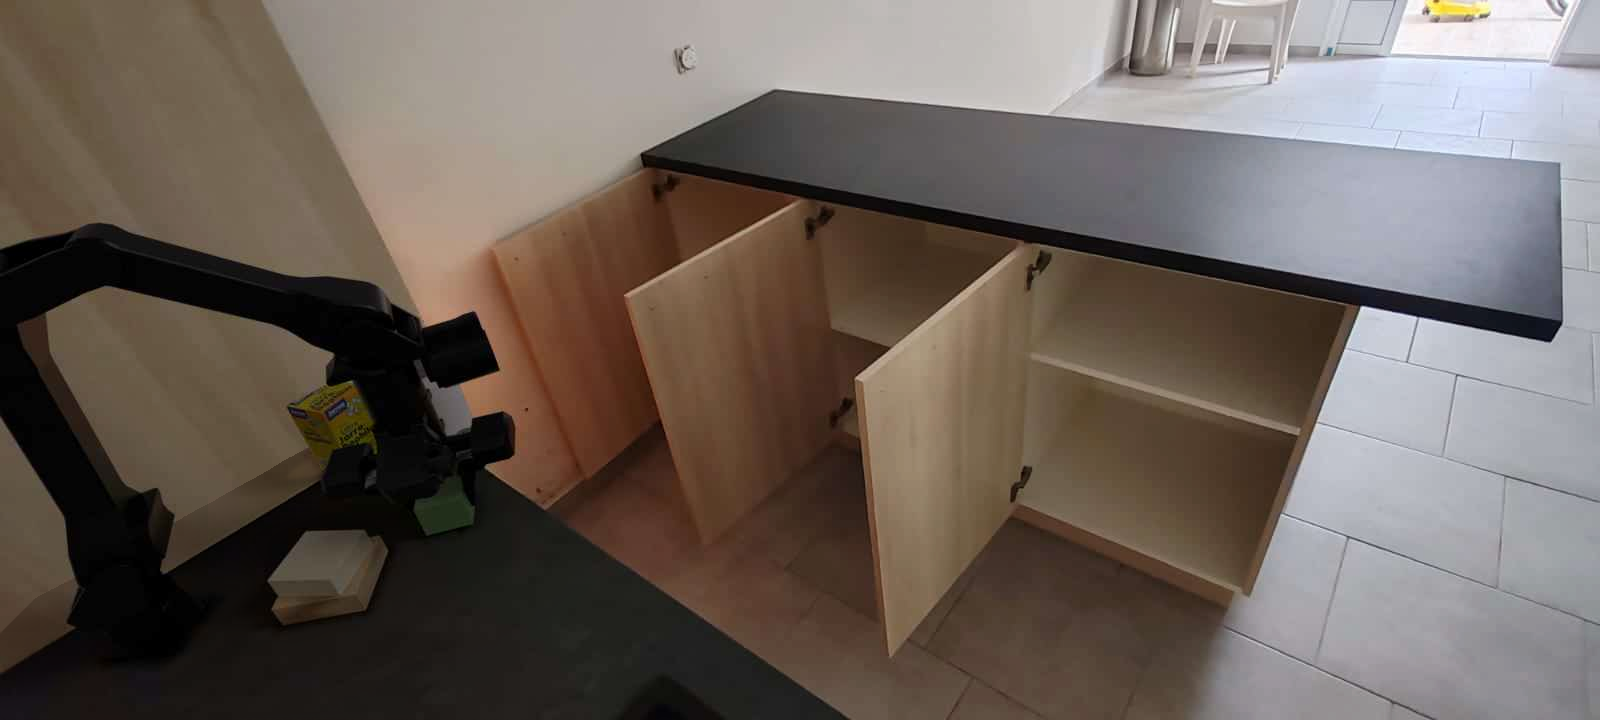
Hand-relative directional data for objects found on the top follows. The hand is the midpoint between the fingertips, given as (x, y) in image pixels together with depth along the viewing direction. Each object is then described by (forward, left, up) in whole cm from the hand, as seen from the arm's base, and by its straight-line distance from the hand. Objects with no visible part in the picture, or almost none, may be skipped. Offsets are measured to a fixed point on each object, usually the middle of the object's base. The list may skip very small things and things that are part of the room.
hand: (449, 509), depth 85 cm
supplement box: (-16, +11, -1) cm, 19 cm away
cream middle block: (-9, -9, +1) cm, 13 cm away
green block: (0, 0, -1) cm, 1 cm away
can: (-5, +14, -1) cm, 15 cm away
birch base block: (-9, -9, -1) cm, 13 cm away
